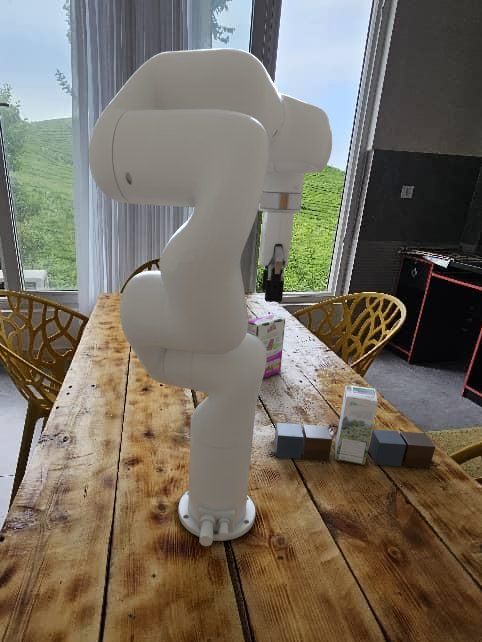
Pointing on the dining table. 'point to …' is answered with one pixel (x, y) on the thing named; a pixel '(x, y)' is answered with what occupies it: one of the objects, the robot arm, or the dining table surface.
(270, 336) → the candy bar box
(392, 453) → the slate block
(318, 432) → the walnut block
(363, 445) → the syrup box
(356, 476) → the dining table surface
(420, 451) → the walnut block
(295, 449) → the slate block
